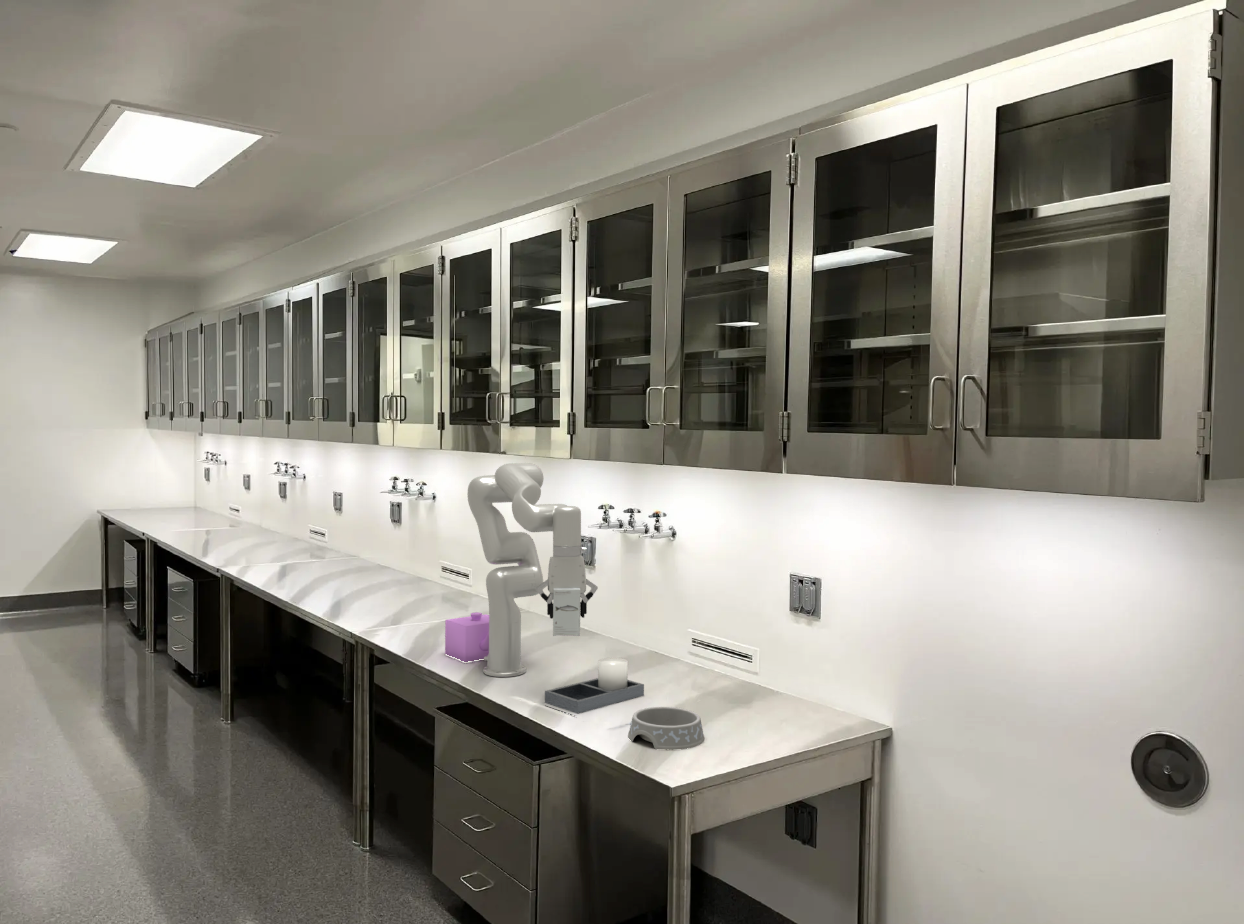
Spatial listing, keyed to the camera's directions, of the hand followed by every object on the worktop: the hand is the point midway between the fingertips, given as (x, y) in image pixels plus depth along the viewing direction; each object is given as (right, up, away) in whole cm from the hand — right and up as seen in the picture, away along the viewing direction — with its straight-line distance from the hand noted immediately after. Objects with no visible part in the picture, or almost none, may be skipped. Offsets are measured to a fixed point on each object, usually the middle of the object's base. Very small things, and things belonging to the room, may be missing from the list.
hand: (566, 616), depth 244 cm
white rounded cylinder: (+12, -21, +3) cm, 25 cm away
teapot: (-31, -21, +47) cm, 60 cm away
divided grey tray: (+8, -23, -2) cm, 24 cm away
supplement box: (0, -5, 0) cm, 5 cm away
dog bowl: (+25, -24, -29) cm, 45 cm away
